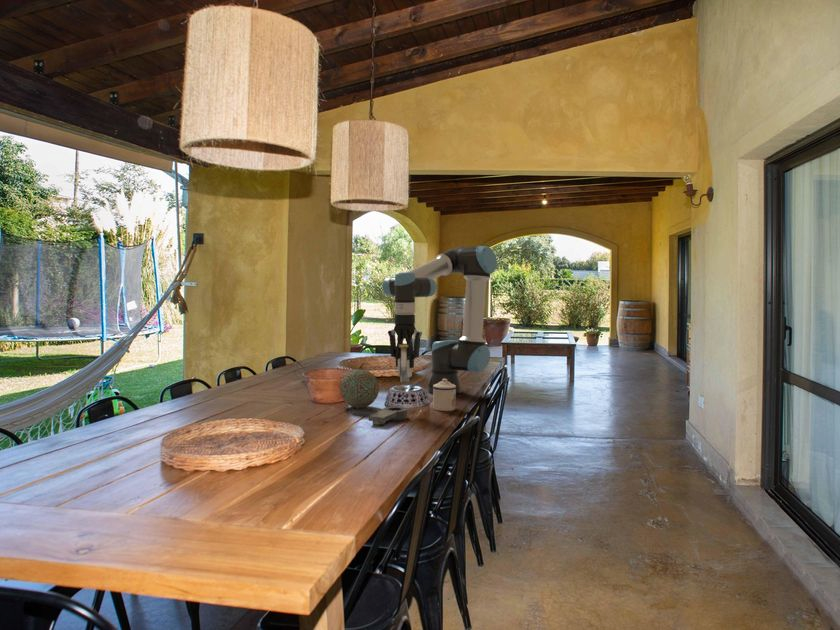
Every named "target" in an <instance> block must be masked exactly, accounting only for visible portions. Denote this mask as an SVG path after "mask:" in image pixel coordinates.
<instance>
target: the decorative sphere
mask: <svg viewBox="0 0 840 630" xmlns="http://www.w3.org/2000/svg"><path fill="white" fill-rule="evenodd" d="M340 381H341V382H340V385H339V393H340V396H341V399H343V401H344V402H345V404H346V405H348V406H350V407H352V408H355V409H357V408H360V407H361V408H367V407H369V406H371V405H372V404H373V403H374V402H375V400H377V398H378V396H379V394H380V393H379V392H380V385H379V380H378V378H377V377H376V376H375V375H374V373H373V372H371V371H369V370H368V369H365V368H355V369H352V370H350V371H348V372H347V373H345V375H344V376H343V377H342V379H341V380H340Z"/></svg>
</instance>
